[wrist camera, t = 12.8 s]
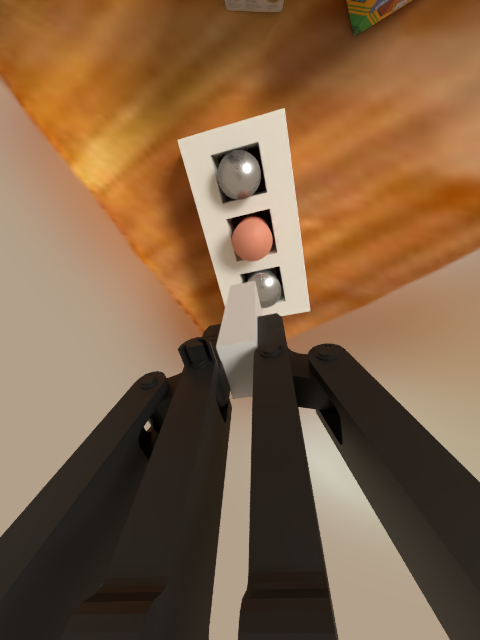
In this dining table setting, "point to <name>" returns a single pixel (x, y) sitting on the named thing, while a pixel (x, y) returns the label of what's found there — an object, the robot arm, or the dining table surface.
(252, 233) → the pink short cylinder
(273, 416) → the robot arm
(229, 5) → the coffee box
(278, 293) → the plunger
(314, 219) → the dining table surface
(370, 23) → the chalk box
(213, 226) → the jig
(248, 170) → the plunger
